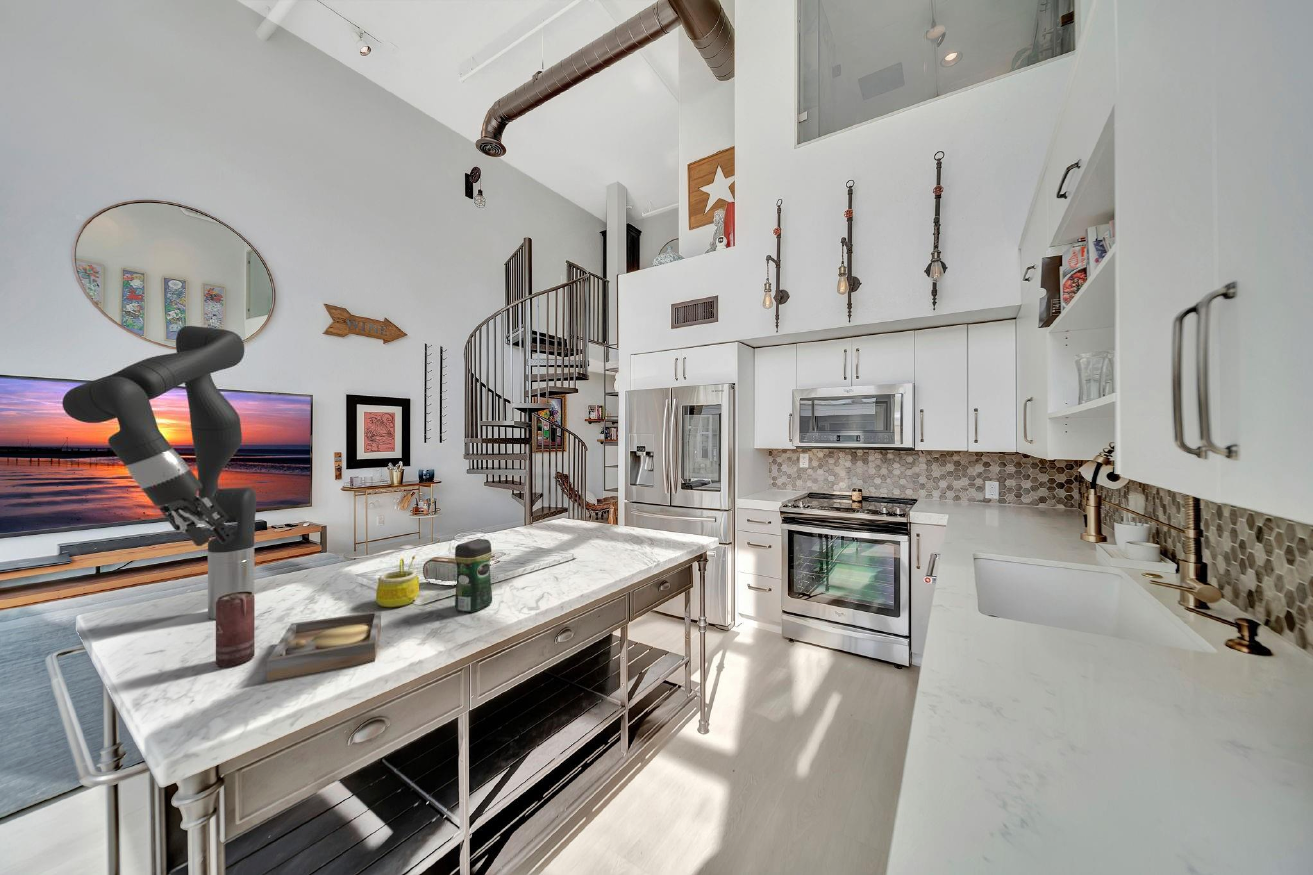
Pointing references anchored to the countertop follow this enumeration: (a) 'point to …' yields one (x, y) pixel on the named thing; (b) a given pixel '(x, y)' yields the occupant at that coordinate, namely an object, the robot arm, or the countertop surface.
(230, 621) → the can
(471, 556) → the coffee jar
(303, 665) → the carrier tray
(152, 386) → the robot arm
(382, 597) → the yellow pot
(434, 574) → the tin
